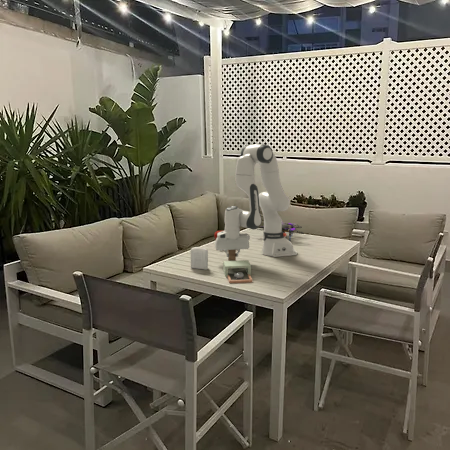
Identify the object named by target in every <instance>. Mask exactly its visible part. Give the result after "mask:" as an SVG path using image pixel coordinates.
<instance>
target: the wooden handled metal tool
mask: <svg viewBox="0 0 450 450" xmlns="http://www.w3.org/2000/svg"><path fill="white" fill-rule="evenodd" d="M236 251H237V250H227V253H229V257H227V261H237V259H236V253H237V252H236ZM231 269H232V270H239V269H240V268H231Z"/></svg>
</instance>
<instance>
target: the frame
mask: <svg viewBox="0 0 450 450" xmlns="http://www.w3.org/2000/svg"><path fill="white" fill-rule="evenodd" d="M226 278H227V280H228V282H229V284H241V283H253V278H252V275H251V276H250V274H247V278H248V279H232V278H231V276H230V275H229V274H228V275H227V277H226Z"/></svg>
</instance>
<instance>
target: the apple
mask: <svg viewBox="0 0 450 450" xmlns="http://www.w3.org/2000/svg"><path fill="white" fill-rule="evenodd" d="M222 231H224V230H223V229H221V230H217V231H215V232H214V239H215V241H216V238H217V233H219V232H222Z"/></svg>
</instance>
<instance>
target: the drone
mask: <svg viewBox="0 0 450 450" xmlns="http://www.w3.org/2000/svg"><path fill="white" fill-rule="evenodd" d="M302 227H303V226H302V225H299V224H297V223H291V222H282V232H284V233H287V234H289V235H288V236H289V238H288V240H289V241H290V242H291V238H292V237H293V235H298V234H299V235H300V234H301V235H304V234H305V232H303V231H299V230H298V229H302ZM256 231H260V232H261V231H262V232H263V231H264V225H263V226H262V225H260V227H258V228H257V229H256Z"/></svg>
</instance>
